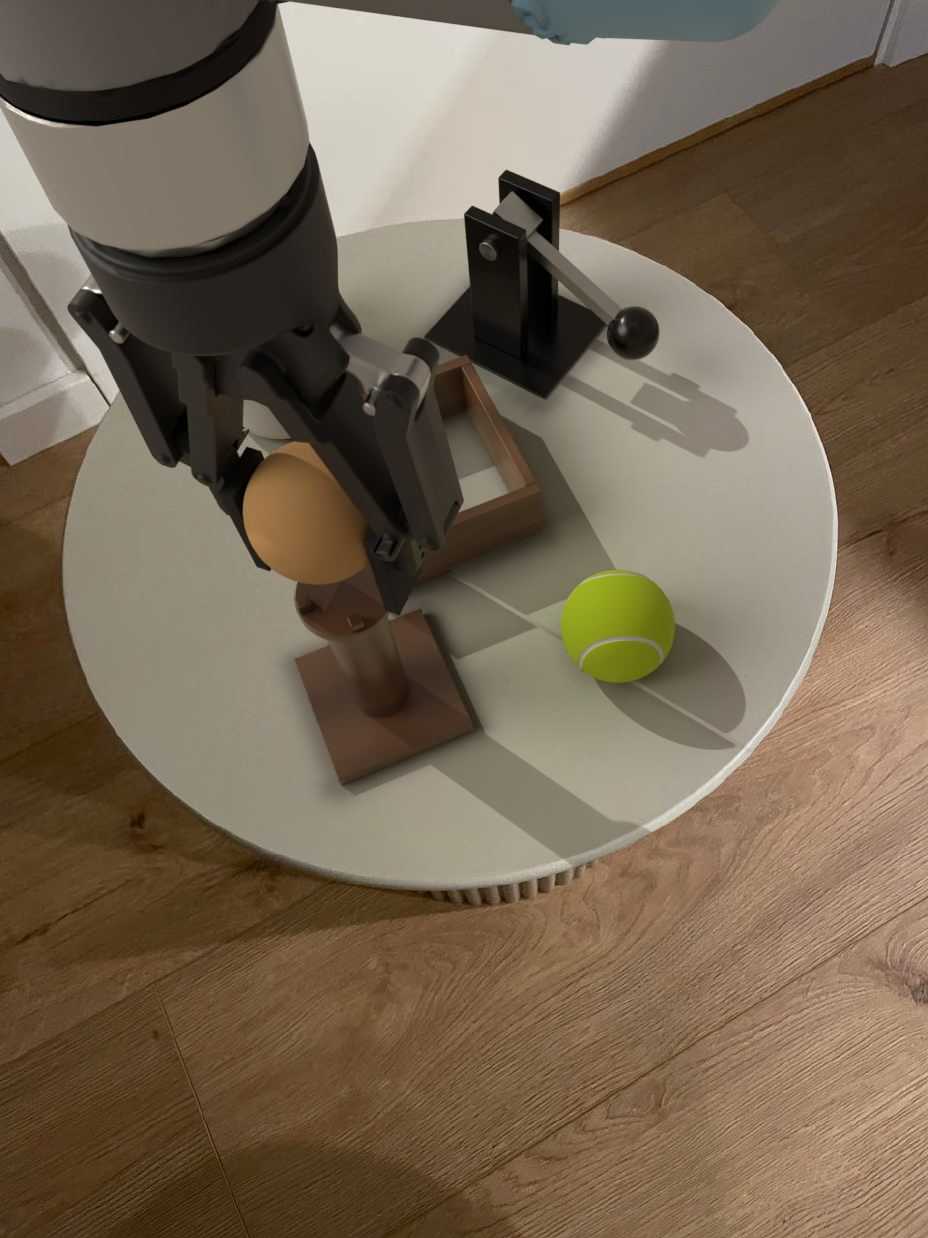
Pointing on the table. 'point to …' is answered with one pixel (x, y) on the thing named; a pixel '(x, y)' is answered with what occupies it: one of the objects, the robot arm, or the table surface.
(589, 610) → the tennis ball
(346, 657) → the stand
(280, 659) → the table surface
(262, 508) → the cork ball
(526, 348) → the bracket
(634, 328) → the lever
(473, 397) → the bin
